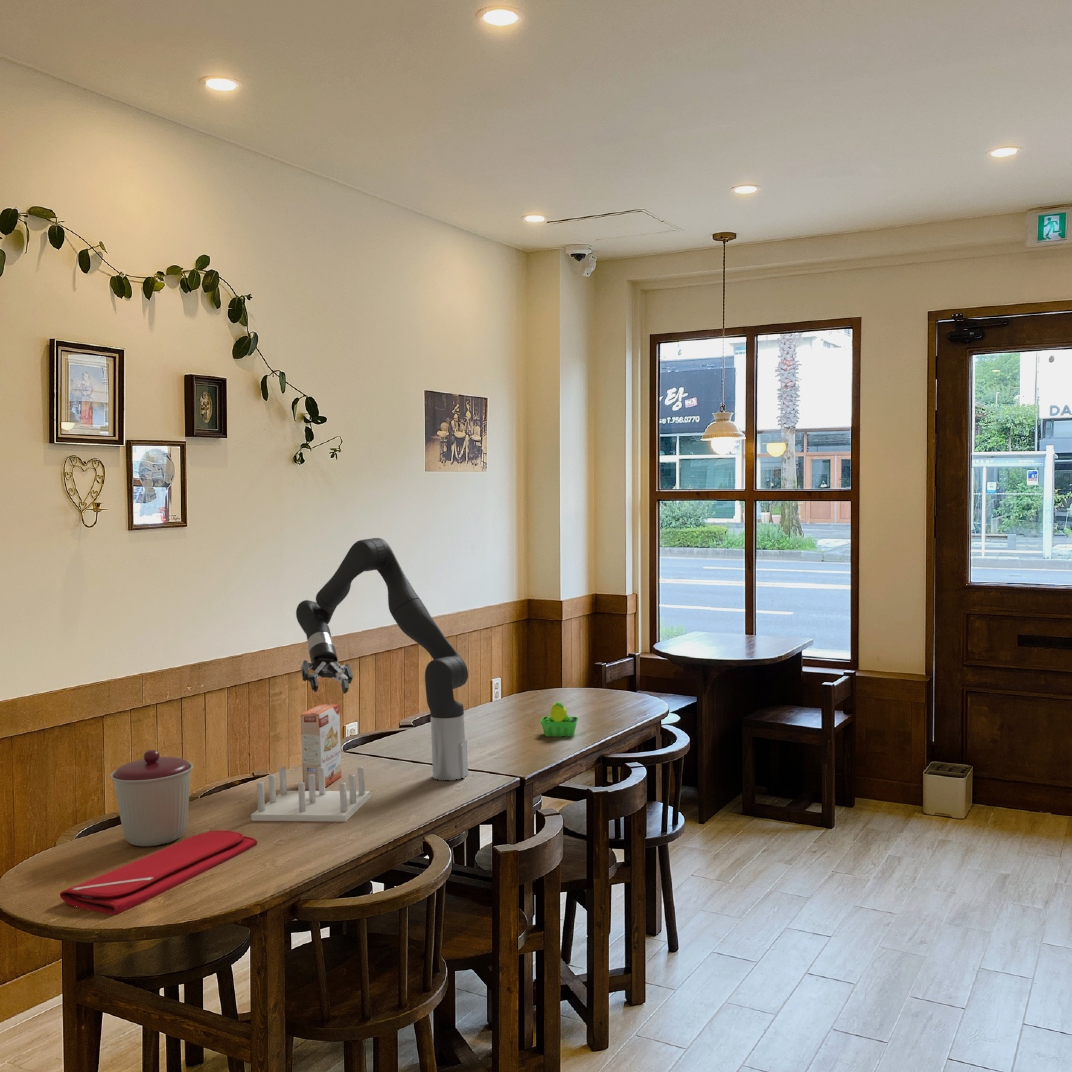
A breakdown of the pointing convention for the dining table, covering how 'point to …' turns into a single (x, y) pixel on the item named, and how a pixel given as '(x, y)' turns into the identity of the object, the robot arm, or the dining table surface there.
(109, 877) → the dish drying mat
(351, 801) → the dish rack
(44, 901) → the dining table surface
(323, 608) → the robot arm
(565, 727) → the fruit basket
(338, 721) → the cracker box
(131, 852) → the dining table surface
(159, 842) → the canister
